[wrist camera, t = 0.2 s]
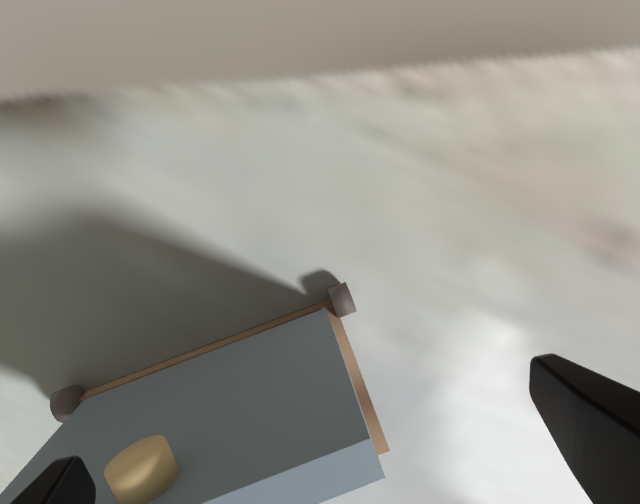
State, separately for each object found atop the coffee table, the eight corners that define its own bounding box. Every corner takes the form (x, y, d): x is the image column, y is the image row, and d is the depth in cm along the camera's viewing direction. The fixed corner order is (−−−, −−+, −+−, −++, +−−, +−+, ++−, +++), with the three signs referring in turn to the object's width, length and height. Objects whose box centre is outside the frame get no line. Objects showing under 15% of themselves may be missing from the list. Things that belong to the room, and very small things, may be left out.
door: (333, 328, 24) (385, 477, 12) (94, 420, 24) (-92, 662, 12) (319, 289, 24) (357, 404, 12) (75, 382, 23) (-137, 594, 11)
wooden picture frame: (400, 434, 27) (408, 453, 25) (139, 535, 26) (129, 561, 25) (343, 278, 25) (347, 286, 23) (62, 384, 25) (45, 400, 23)
